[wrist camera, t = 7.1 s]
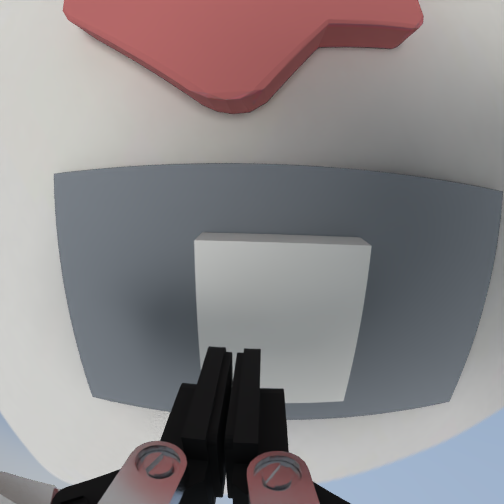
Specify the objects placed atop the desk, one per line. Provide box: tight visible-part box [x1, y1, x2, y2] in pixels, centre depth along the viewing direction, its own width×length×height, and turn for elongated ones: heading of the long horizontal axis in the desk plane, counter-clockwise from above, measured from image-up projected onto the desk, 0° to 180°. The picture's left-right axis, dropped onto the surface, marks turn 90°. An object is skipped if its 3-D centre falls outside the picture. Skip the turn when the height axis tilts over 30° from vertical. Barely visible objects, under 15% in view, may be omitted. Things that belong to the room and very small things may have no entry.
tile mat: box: [54, 163, 503, 420], centre depth 15 cm, size 24×14×1 cm, turn 89°
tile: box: [194, 232, 372, 403], centre depth 14 cm, size 2×8×7 cm
